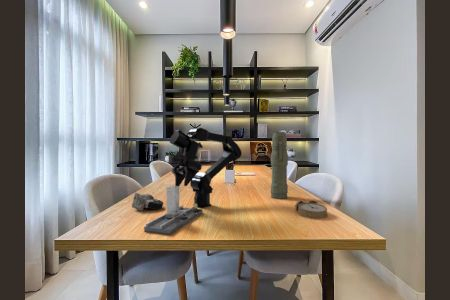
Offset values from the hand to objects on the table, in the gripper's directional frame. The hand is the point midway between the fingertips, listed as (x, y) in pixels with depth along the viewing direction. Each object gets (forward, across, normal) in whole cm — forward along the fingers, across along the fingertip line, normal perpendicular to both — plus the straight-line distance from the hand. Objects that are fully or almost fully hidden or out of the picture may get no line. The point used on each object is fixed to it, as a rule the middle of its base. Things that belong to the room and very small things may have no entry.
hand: (180, 187), depth 103 cm
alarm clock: (-1, +28, +48) cm, 56 cm away
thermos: (-12, +1, +56) cm, 57 cm away
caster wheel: (+10, -17, -5) cm, 20 cm away
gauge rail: (+14, +6, 0) cm, 15 cm away
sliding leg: (+13, +7, -1) cm, 14 cm away
